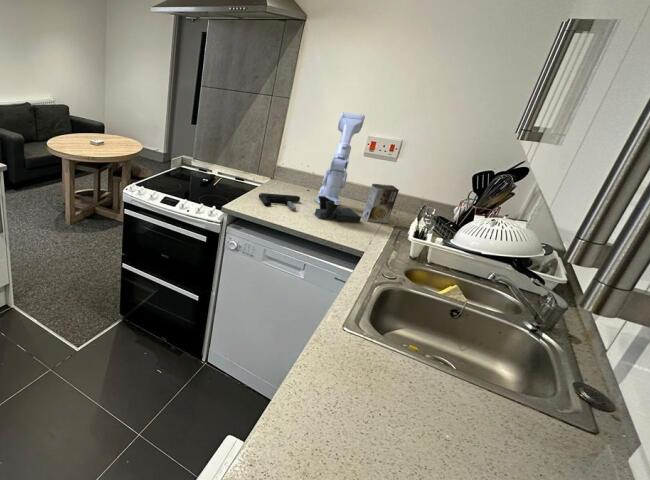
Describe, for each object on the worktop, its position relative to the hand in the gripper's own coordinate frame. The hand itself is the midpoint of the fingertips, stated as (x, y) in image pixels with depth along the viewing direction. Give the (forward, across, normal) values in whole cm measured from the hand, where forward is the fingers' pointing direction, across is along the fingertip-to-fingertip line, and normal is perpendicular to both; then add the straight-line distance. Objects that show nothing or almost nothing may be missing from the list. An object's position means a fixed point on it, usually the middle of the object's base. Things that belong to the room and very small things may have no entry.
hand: (325, 214), depth 177 cm
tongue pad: (+1, 0, +1) cm, 2 cm away
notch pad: (+1, 0, +9) cm, 9 cm away
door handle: (+2, -13, -15) cm, 20 cm away
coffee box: (+2, 0, +24) cm, 24 cm away
